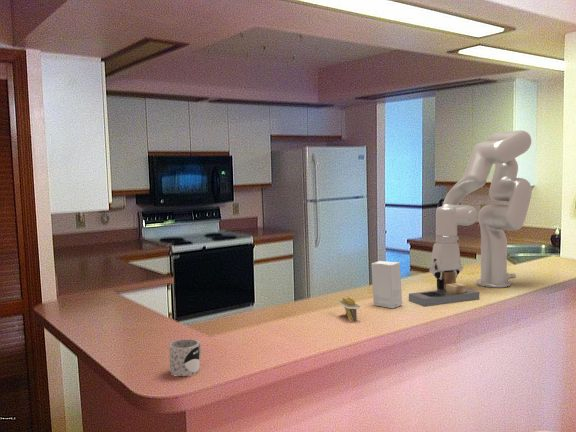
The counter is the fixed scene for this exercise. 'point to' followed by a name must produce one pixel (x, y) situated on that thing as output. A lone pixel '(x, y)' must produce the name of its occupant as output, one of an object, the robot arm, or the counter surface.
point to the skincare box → (386, 284)
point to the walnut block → (448, 278)
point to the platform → (350, 308)
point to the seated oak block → (455, 288)
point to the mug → (185, 357)
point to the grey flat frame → (442, 297)
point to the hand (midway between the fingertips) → (446, 288)
